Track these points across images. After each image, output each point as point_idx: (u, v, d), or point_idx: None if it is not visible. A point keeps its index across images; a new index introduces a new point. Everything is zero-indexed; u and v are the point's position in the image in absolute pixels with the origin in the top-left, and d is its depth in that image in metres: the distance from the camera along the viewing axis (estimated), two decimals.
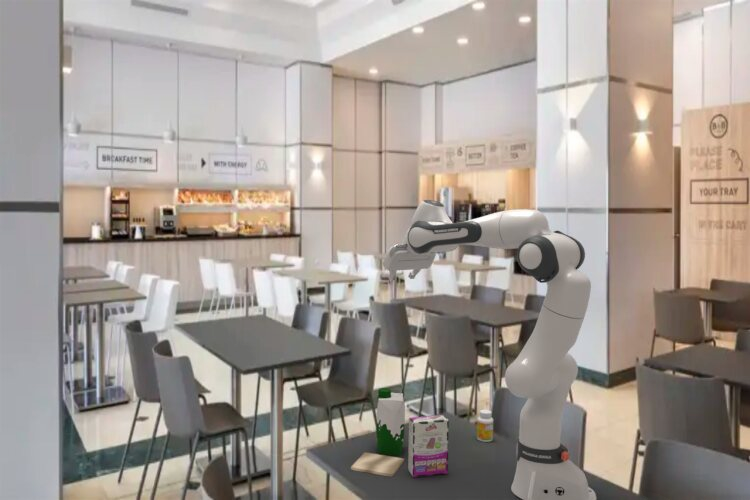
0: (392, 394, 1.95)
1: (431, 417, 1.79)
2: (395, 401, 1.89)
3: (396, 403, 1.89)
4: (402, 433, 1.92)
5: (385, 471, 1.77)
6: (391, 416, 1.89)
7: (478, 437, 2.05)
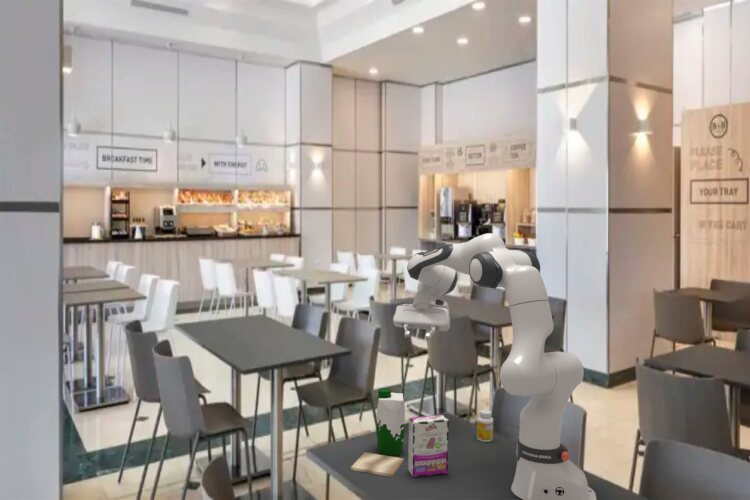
0: (392, 394, 1.95)
1: (431, 417, 1.79)
2: (395, 401, 1.89)
3: (396, 403, 1.89)
4: (402, 433, 1.92)
5: (385, 471, 1.77)
6: (391, 416, 1.89)
7: (478, 437, 2.05)
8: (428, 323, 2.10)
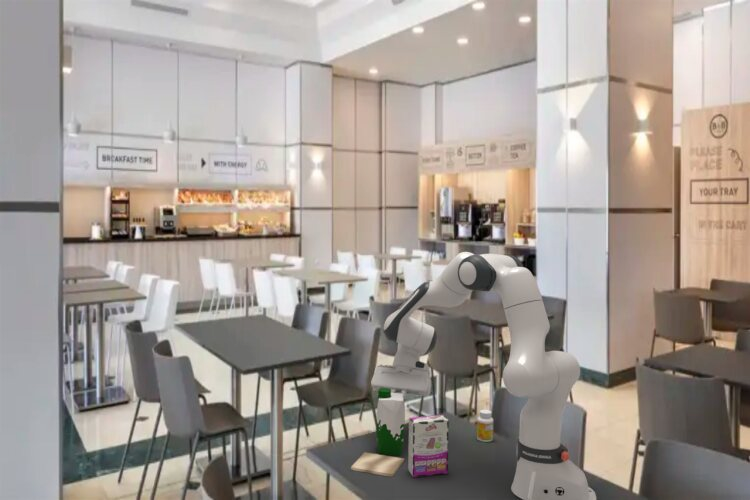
0: (392, 394, 1.95)
1: (431, 417, 1.79)
2: (395, 401, 1.89)
3: (396, 403, 1.89)
4: (402, 433, 1.92)
5: (385, 471, 1.77)
6: (391, 416, 1.89)
7: (478, 437, 2.05)
8: (407, 388, 1.99)
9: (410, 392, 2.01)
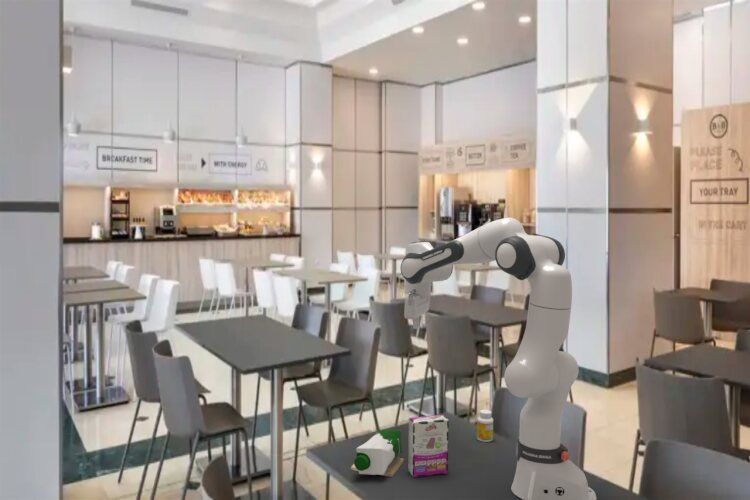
0: (370, 455, 1.73)
1: (431, 417, 1.79)
2: None
3: None
4: (396, 456, 1.82)
5: (385, 471, 1.77)
6: None
7: (478, 437, 2.05)
8: (424, 312, 2.10)
9: None
